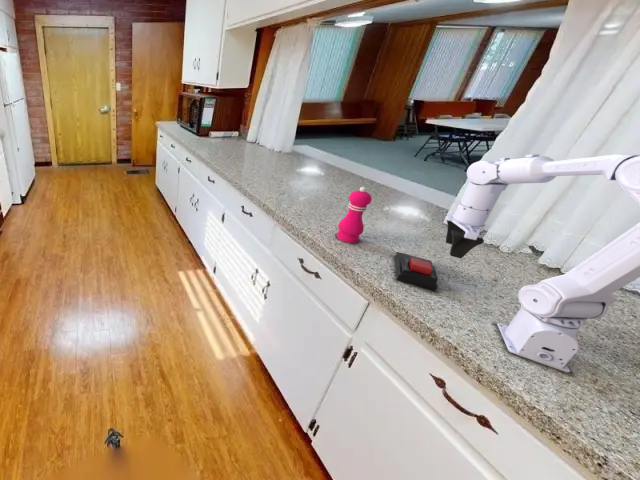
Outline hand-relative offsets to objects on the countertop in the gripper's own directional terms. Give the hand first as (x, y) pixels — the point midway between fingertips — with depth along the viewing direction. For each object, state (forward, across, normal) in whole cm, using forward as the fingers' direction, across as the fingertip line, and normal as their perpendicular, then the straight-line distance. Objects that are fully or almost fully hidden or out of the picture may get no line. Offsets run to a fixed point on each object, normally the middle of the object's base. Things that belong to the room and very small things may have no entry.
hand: (453, 249), depth 81 cm
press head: (+6, +5, -6) cm, 10 cm away
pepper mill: (+10, -10, -23) cm, 27 cm away
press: (+10, +1, -6) cm, 11 cm away
